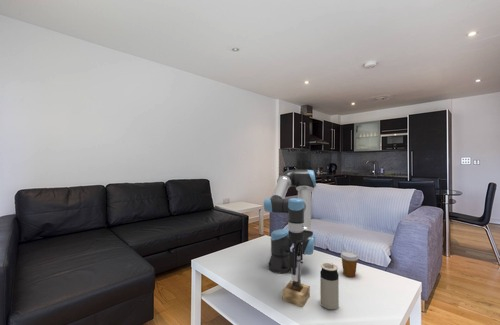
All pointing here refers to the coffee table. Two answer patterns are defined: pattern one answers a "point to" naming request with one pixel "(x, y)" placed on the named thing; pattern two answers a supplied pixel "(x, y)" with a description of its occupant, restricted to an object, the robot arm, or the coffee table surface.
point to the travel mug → (329, 286)
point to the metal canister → (298, 283)
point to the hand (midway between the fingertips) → (296, 278)
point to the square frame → (296, 294)
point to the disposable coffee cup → (349, 263)
